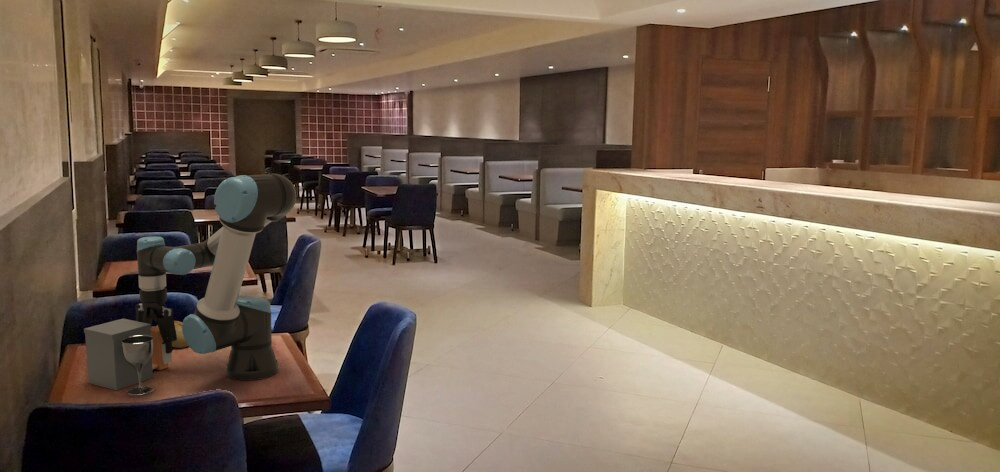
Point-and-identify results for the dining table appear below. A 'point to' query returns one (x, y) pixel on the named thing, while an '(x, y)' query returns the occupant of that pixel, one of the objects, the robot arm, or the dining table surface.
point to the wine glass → (138, 358)
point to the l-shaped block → (157, 349)
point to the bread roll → (179, 336)
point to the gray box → (113, 354)
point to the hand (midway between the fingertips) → (156, 360)
